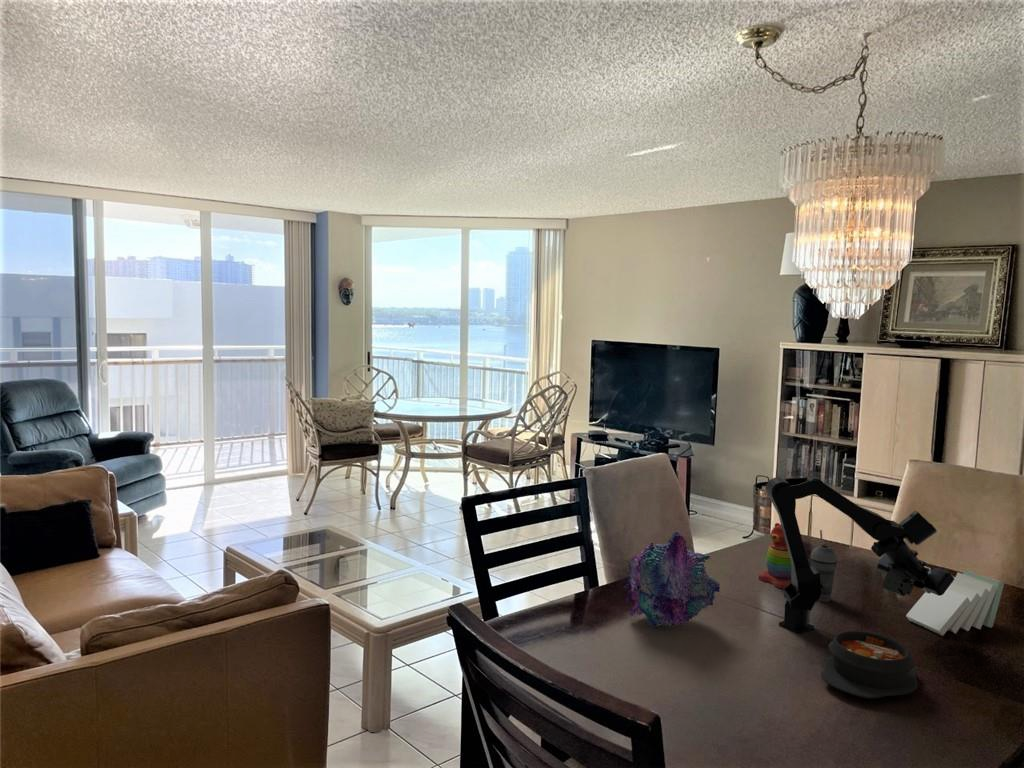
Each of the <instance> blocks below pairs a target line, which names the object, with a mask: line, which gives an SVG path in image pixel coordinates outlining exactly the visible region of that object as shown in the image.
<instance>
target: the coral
mask: <svg viewBox="0 0 1024 768" xmlns="http://www.w3.org/2000/svg"><path fill="white" fill-rule="evenodd" d="M710 558H711V556H710V554H707V553H706V554H703V553H701V552H695V551H693V552H692V550H689V549H688V547H687V539H685V537H684V535H683V534H682V532H680V531H677V530H676V531H674V532H673V533H672V534H671V536H670V537H669V539H668V541H667V542H666V543H660V544H659V543H656V544H655V545H654V542H650V544H649V545H648V547H644V549H643V550H642V551H641V552H640V554H635V555H634V556H633V557H631V559H630V561H629V564H628V565H629V569H628V570H629V571H628V575H627V581H626V585H625V586H623V589H625V590H628V591H627V597H626V598H625V602H626V603H629V601H630V602H635V603H634V604H633V606H631V608H630V609H629V610H628V614H629V615H630V617H633V616H635V613H636V614H637V615H638V616H642V614H644V616H645V617H646V621H647V622H648V623H647V624H648V625H649V626H650V627H653V628H656V627H659V626H665V627H671V626H673V625H675V626H678V625H681V624H683V623H689V621H690V620H692V619H693V618H695V617H696V616H698V615H699V613H700V612H701V611H702V609H703V610H704V609H705V610H706V608H707V607H709V606H713V605H714V601H715V598H716V596H715V593H716V592H717V593H720V592H721V591H720V588H721V586H720V585H721V583H720V582H718V581H717V580H716V579H715V578H713V577H709V574H707V573H708V572H707V571H706V566H705V563H706V561H708V560H709V559H710ZM659 624H660V625H659Z"/></svg>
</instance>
